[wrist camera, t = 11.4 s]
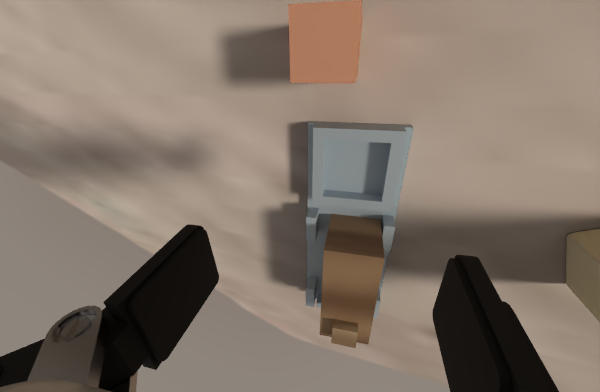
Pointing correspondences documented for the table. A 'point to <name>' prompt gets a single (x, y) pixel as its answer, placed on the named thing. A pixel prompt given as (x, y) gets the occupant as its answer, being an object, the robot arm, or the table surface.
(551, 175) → the table surface
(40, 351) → the robot arm
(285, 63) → the table surface
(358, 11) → the brown rectangular brick
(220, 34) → the table surface
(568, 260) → the toy refrigerator
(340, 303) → the brown tabbed block
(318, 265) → the jig
